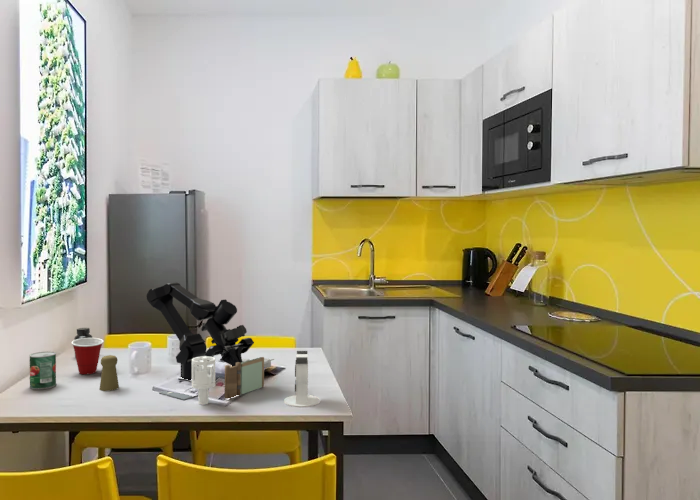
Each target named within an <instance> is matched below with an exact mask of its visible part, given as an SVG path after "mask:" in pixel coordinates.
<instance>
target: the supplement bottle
mask: <svg viewBox="0 0 700 500" xmlns="http://www.w3.org/2000/svg"><path fill="white" fill-rule="evenodd" d="M90 329H91V328H90V327H80V328H76V334H77V335H75V336H74V338H73V340H76V339H81V338H94V337H93V335H92V334H90V333H91V332H90V331H91V330H90ZM74 358H75V359H76V356H75V355H74Z"/></svg>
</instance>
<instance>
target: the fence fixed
mask: <svg viewBox="0 0 700 500" xmlns="http://www.w3.org/2000/svg"><path fill="white" fill-rule="evenodd" d="M230 366H231V365H230V364H227V365H224V399H225V398H231V397H234V396H236V395H242V394H241V363H240V362H237V363H236V366H232V367H230Z"/></svg>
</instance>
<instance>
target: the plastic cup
mask: <svg viewBox="0 0 700 500" xmlns="http://www.w3.org/2000/svg"><path fill="white" fill-rule="evenodd" d="M103 343H104V340H103V339H102V338H98V337H93V338H81V339H76V340H74V339H73V340H72V341H71V345H72V347H73V351H74V357H75V356H76V358H75V360H76V365H77V370H78V373H79V374H80V375H92V374H93V375H94V374H95V373H97V370H98V364H99V360H100V353H101V350H102V345H103Z"/></svg>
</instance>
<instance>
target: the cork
mask: <svg viewBox="0 0 700 500" xmlns="http://www.w3.org/2000/svg"><path fill="white" fill-rule="evenodd" d="M117 364H118V357H117V356H116V355H111V354H109V355H103V356H102V357H101V358H100V366H101V368H102V369H101V375H100V383H99V391H101V392H102V391H103V392H111V391H116V390H117V389H119V388H120V386H119V385H120V384H119V379H118V372H117Z"/></svg>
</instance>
